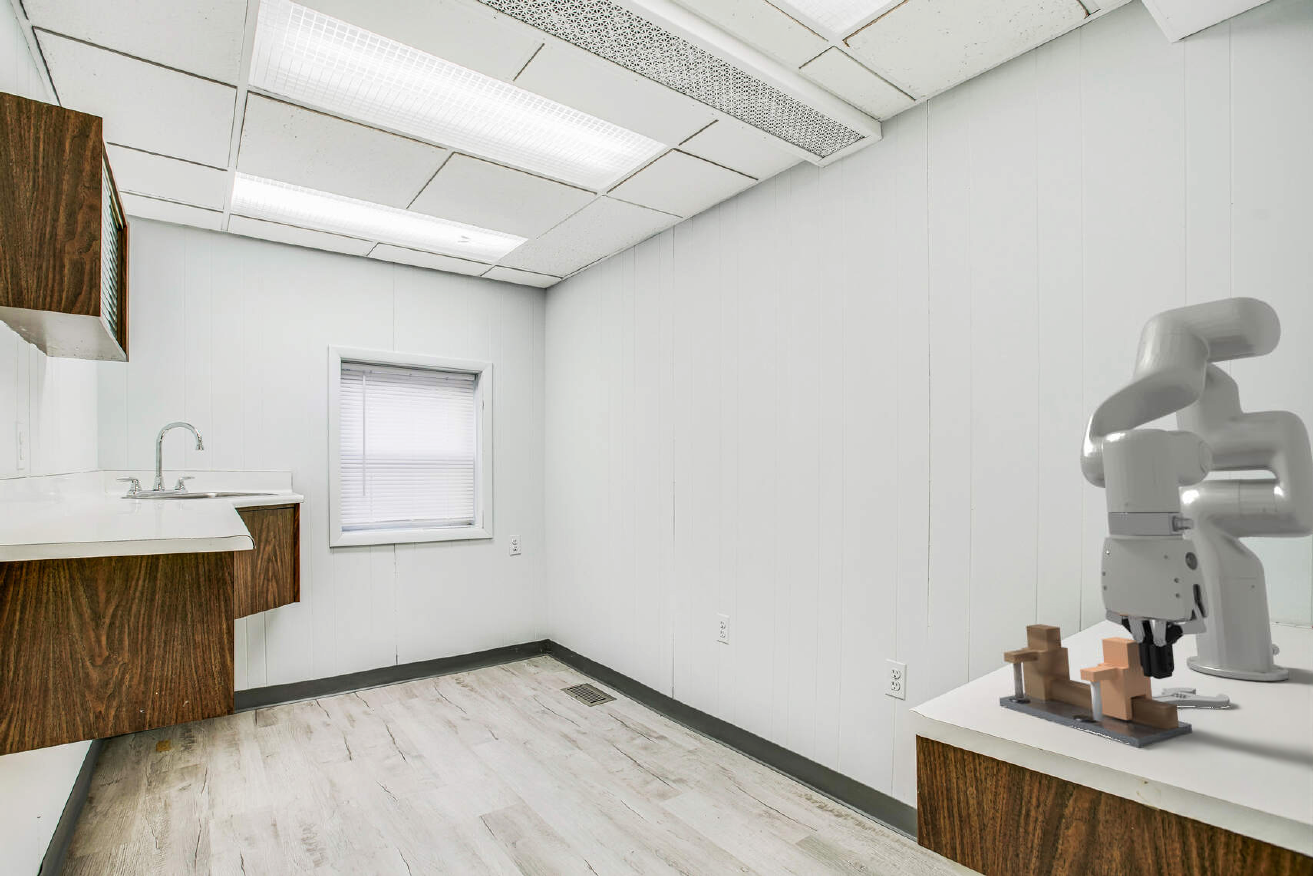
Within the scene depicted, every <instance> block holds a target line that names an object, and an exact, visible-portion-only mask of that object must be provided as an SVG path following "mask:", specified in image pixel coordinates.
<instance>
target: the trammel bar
mask: <svg viewBox="0 0 1313 876" xmlns="http://www.w3.org/2000/svg"><path fill="white" fill-rule="evenodd" d="M1025 627H1026V641H1027V647H1021V649H1019V650H1018V649H1017V650H1011V651H1005V652H1003V659H1004V662H1006V663H1009V664H1012V666H1013V667H1012V668H1013V669H1012V670H1013V681H1014V695H1015V697H1016V698H1020V699H1022V698H1024V696H1023V693H1025V695H1028V696H1032V697H1035V698H1039V699H1043V700H1048V699H1056V700H1060V701H1063V702H1067V703H1071V704H1074V705H1078V706H1082V707H1085V708H1089V709H1093V707H1092V694H1091V683H1085V682H1082V681H1081V682H1080V681H1077V680H1073V679H1071V676H1070V663H1069V650H1068V647H1066V646H1062V637H1061V628H1060V626H1053V625H1047V624H1043V623H1039V624H1031V625H1026V626H1025ZM1131 708H1132V719H1130V720H1133V721H1137V722H1140V723H1144V724H1148V725H1152V726H1155V727H1159V728H1163V729H1166V730H1167V729H1171V728H1175V727H1178V726H1179V724H1178V721H1179V716H1178V713H1179V712H1178V708H1177V705H1174V704H1170V703H1165V702H1161V701H1157V700H1153V699H1149V698H1144V697H1140V696H1135V697H1131Z"/></svg>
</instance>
